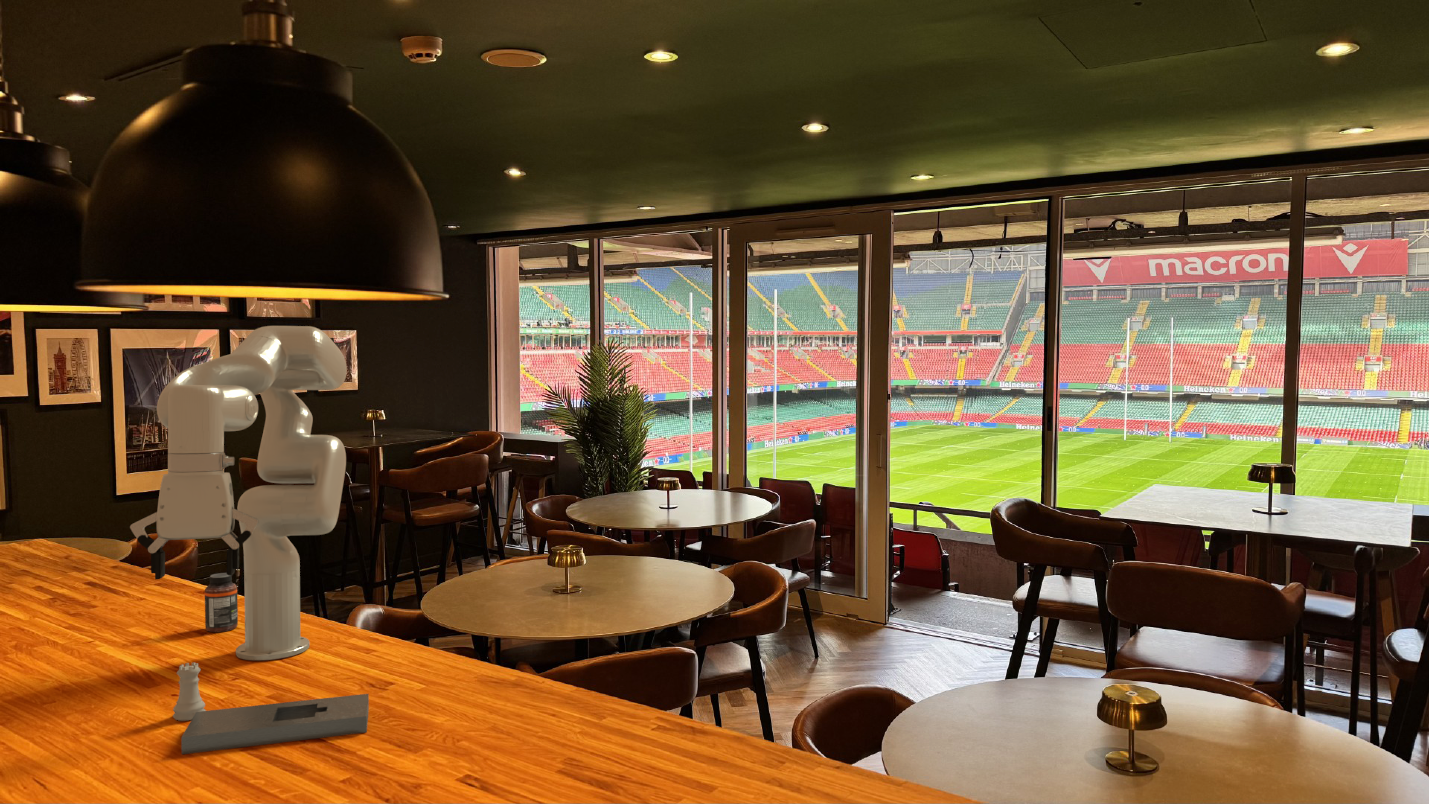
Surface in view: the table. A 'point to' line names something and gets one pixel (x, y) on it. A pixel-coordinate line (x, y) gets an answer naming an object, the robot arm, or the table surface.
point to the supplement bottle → (221, 604)
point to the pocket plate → (276, 723)
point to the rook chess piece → (188, 693)
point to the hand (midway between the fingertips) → (195, 575)
